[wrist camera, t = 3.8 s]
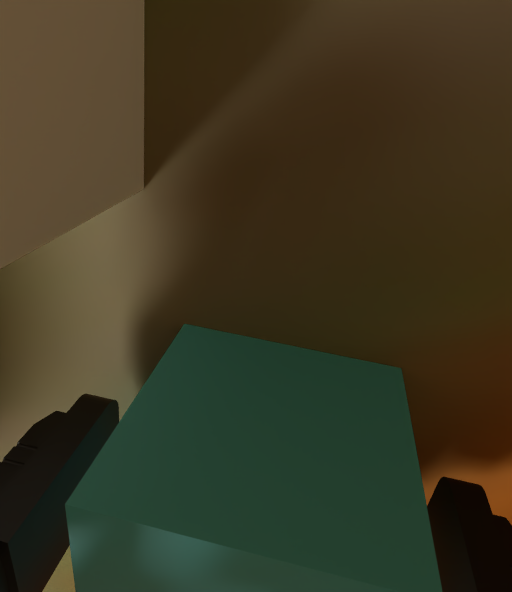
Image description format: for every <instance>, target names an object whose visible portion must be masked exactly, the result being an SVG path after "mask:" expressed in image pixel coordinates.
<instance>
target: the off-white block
mask: <svg viewBox="0 0 512 592" xmlns="http://www.w3.org/2000/svg"><path fill="white" fill-rule="evenodd" d="M143 189H144V0H0V269H1V268H3V267H5V266H7V265H8V264H10V263H12V262H14V261H16V260H17V259H19V258H21V257H23V256H25V255H26V254H28V253H30V252H32V251H34V250H35V249H37V248H39V247H41V246H43V245H44V244H46V243H48V242H50V241H51V240H53V239H55V238H57V237H59V236H60V235H62V234H64V233H66V232H68V231H69V230H71V229H73V228H75V227H77V226H78V225H80V224H82V223H84V222H86V221H87V220H89V219H91V218H93V217H95V216H96V215H98V214H100V213H102V212H104V211H105V210H107V209H109V208H111V207H113V206H114V205H116V204H118V203H120V202H122V201H123V200H125V199H127V198H129V197H131V196H132V195H134V194H136V193H138V192H140V191H141V190H143Z"/></svg>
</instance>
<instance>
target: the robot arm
mask: <svg viewBox="0 0 512 592" xmlns="http://www.w3.org/2000/svg"><path fill="white" fill-rule="evenodd" d="M118 423H119V407H118V402H117V401H116V400H112V399H107V398H103V397H99V396H94V395H90V394H83V395H82V396H81V397H80V398H79V399H78V400H77V401H76V402H75V404H74V405H73V406H72V407H71V408H70V410H69V411H68V412H67V413H64V412H59V411H55V412H53V413H52V414H50V415H48V416H47V417H45V418H44V419H42V420H40V421H39V422H37V423H35V424H34V425H33V426H32V427H31V428H30V429H29V430H28V431H27V433H26V434H25V435H24V436H23V437H22V438H21V439H20V440H19V441H18V443H17V446H16V447H15V446H14V447H13V448H12V449H11V450H10V452H9V453H8V454H7V455H6V456H5V457H4V459H3V462H0V592H42V591H43V589H44V587H45V586H46V584H47V582H48V581H49V579H50V577H51V576H52V574H53V572H54V570H55V569H56V567H57V565H58V564H59V562H60V560H61V559H62V557H63V555H64V554H65V552H66V550H67V548H68V547H69V545H70V542H69V533H68V525H67V517H66V509H65V503H66V502H67V500H68V499H69V497H70V496H71V494H72V493H73V491H74V490H75V488H76V487H77V485H78V484H79V482H80V481H81V479H82V478H83V476H84V475H85V473H86V472H87V470H88V469H89V467H90V466H91V464H92V463H93V461H94V460H95V458H96V457H97V455H98V454H99V452H100V451H101V449H102V447H103V446H104V444H105V443H106V441H107V440H108V438H109V437H110V435H111V434H112V432H113V431H114V429H115V428H116V426H117V425H118ZM427 510H428V516H429V521H430V527H431V532H432V537H433V543H434V548H435V554H436V559H437V565H438V570H439V575H440V581H441V586H442V592H512V525H511V524H510V523H509V521H508V520H507V519H506V518H505V517H501V516H497V515H493V514H492V511H491V508H490V505H489V502H488V499H487V496H486V493H485V491H484V489H483V488H482V486H480V485H478V484H474V483H469V482H465V481H461V480H456V479H452V478H448V477H442V478H441V479H440V480H439V482H438V484H437V486H436V488H435V490H434V493H433V495H432V497H431V499H430V501H429V504H428V506H427Z"/></svg>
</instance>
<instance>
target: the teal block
mask: <svg viewBox="0 0 512 592" xmlns="http://www.w3.org/2000/svg"><path fill="white" fill-rule="evenodd" d="M65 509H66V517H67V525H68V533H69V542H70V550H71V558H72V566H73V574H74V582H75V590H76V592H442V586H441V581H440V575H439V570H438V565H437V559H436V554H435V548H434V543H433V537H432V532H431V527H430V521H429V516H428V510H427V505H426V499H425V494H424V489H423V483H422V478H421V472H420V467H419V461H418V456H417V450H416V445H415V440H414V434H413V429H412V423H411V418H410V412H409V407H408V402H407V396H406V391H405V385H404V380H403V374H402V369H401V368H398V367H393V366H388V365H383V364H379V363H374V362H369V361H364V360H359V359H354V358H349V357H344V356H340V355H335V354H330V353H325V352H320V351H315V350H310V349H305V348H301V347H296V346H291V345H286V344H281V343H276V342H271V341H266V340H262V339H257V338H252V337H247V336H242V335H237V334H232V333H228V332H223V331H218V330H213V329H208V328H203V327H198V326H193V325H189V324H184V325H183V326H182V328H181V329H180V331H179V333H178V334H177V336H176V337H175V339H174V340H173V342H172V343H171V345H170V346H169V348H168V349H167V351H166V352H165V354H164V355H163V357H162V358H161V360H160V361H159V363H158V364H157V366H156V367H155V369H154V370H153V372H152V373H151V375H150V376H149V378H148V379H147V381H146V382H145V384H144V385H143V387H142V388H141V390H140V392H139V393H138V395H137V396H136V398H135V399H134V401H133V402H132V404H131V405H130V407H129V408H128V410H127V411H126V413H125V414H124V416H123V417H122V419H121V420H120V422H119V423H118V425H117V426H116V428H115V429H114V431H113V432H112V434H111V435H110V437H109V438H108V440H107V441H106V443H105V444H104V446H103V447H102V449H101V451H100V452H99V454H98V455H97V457H96V458H95V460H94V461H93V463H92V464H91V466H90V467H89V469H88V470H87V472H86V473H85V475H84V476H83V478H82V479H81V481H80V482H79V484H78V485H77V487H76V488H75V490H74V491H73V493H72V494H71V496H70V497H69V499H68V500H67V502H66V503H65Z"/></svg>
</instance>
